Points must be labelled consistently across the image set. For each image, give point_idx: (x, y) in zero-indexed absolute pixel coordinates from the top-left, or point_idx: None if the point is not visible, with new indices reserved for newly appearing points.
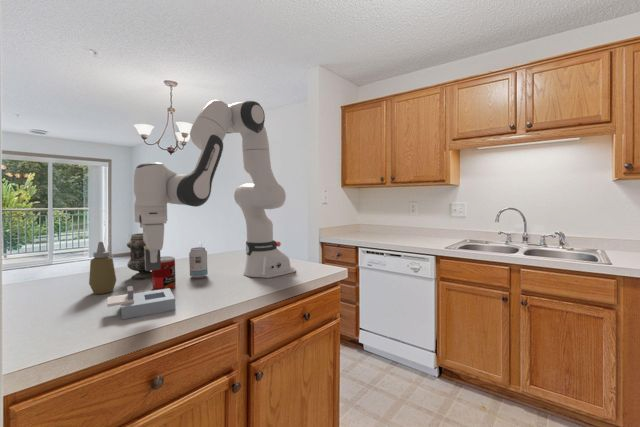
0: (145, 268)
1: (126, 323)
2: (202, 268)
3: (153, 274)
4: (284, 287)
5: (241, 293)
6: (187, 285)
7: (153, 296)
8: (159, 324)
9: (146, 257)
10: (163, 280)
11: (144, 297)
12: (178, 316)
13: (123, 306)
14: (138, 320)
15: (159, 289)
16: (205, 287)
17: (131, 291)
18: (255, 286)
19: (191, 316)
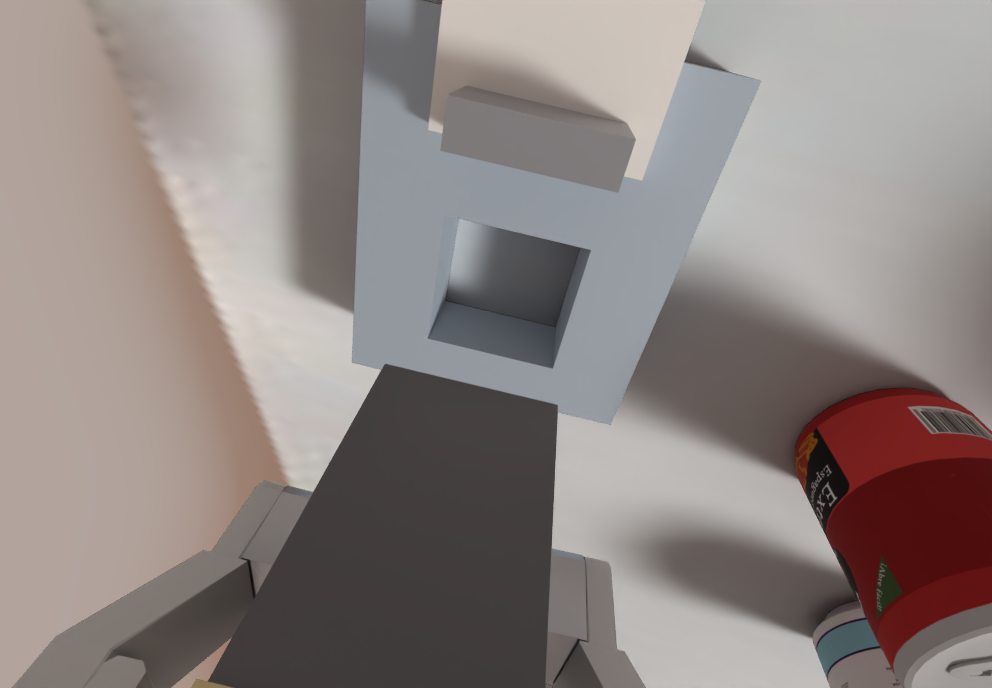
0: (453, 392)
1: (305, 6)
2: (835, 685)
3: (976, 476)
4: None
5: None
6: (766, 528)
7: (572, 299)
8: (190, 177)
9: (304, 523)
10: (842, 472)
11: (519, 231)
12: (265, 294)
13: (384, 15)
14: (320, 96)
15: (841, 405)
16: (634, 554)
17: (446, 131)
18: None
19: (233, 336)
